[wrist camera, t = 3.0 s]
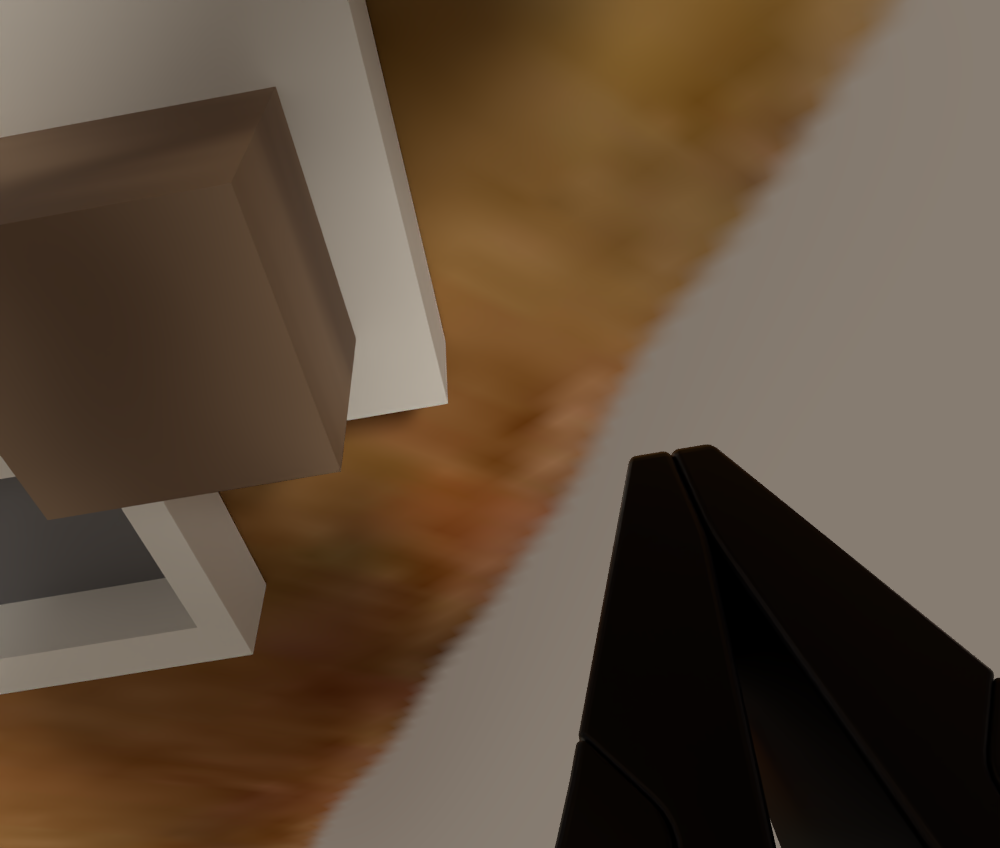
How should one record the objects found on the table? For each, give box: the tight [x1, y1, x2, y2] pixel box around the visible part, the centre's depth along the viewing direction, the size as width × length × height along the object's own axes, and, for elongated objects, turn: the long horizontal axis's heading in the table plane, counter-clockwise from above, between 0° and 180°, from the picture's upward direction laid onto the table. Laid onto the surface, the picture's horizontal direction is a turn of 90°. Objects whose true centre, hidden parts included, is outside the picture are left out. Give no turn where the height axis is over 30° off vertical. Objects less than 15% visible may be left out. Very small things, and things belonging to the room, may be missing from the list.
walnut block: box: [0, 87, 356, 520], centre depth 13 cm, size 5×5×4 cm
